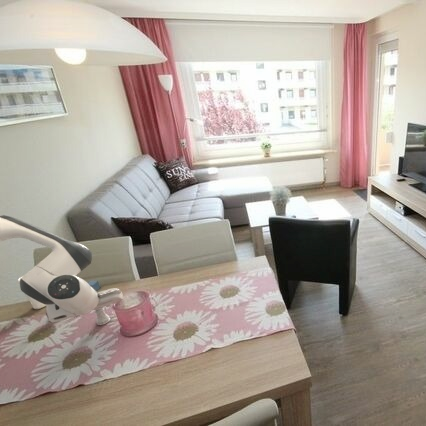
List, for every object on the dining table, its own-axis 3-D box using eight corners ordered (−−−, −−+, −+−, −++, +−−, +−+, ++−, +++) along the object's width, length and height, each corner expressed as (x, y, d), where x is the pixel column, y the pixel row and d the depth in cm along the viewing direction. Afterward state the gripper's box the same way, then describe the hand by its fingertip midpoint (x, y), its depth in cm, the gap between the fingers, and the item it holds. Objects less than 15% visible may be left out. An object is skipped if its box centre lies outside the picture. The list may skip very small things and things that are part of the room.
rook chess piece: (105, 325, 114) (99, 308, 112) (94, 326, 114) (87, 309, 112) (113, 318, 118) (107, 301, 116) (102, 318, 119) (96, 301, 116)
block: (94, 292, 137) (91, 285, 136) (86, 293, 137) (83, 285, 136) (100, 287, 141) (98, 280, 139) (92, 288, 141) (89, 280, 139)
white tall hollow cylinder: (27, 310, 127) (13, 280, 122) (43, 300, 133) (30, 272, 128) (39, 311, 126) (26, 281, 121) (55, 301, 132) (43, 272, 127)
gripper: (117, 280, 101) (125, 291, 112) (39, 302, 91) (56, 312, 102) (120, 297, 99) (128, 306, 110) (42, 322, 89) (59, 329, 100)
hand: (93, 309), depth 106 cm, fingers open, 8 cm apart
